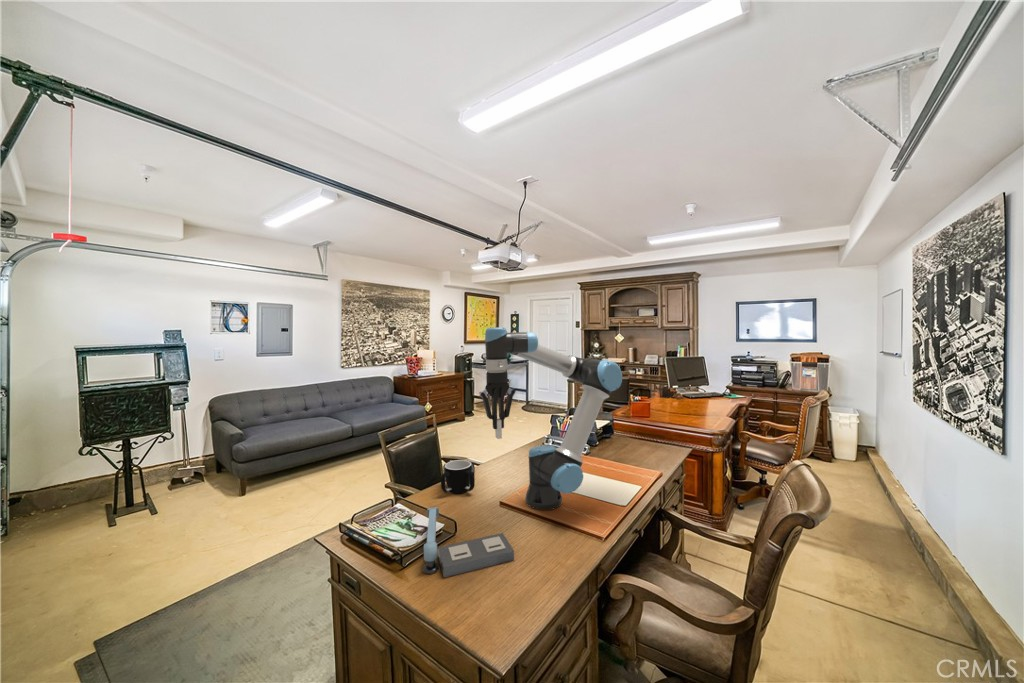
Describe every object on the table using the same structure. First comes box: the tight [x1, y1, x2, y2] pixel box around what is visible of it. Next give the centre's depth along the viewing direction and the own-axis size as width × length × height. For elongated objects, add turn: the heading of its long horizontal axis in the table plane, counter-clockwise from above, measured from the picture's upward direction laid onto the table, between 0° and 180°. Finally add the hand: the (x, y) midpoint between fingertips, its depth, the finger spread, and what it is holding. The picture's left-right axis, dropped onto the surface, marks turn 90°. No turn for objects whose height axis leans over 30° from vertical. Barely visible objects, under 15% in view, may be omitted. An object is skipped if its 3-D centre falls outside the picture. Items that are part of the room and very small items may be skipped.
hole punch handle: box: [423, 506, 440, 562], centre depth 122 cm, size 27×4×4 cm, turn 11°
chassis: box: [437, 532, 515, 579], centre depth 116 cm, size 22×11×3 cm, turn 110°
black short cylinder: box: [422, 559, 440, 576], centre depth 111 cm, size 5×5×4 cm
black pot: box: [440, 459, 476, 495], centre depth 166 cm, size 16×16×12 cm
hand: (498, 437), depth 129 cm, fingers closed
